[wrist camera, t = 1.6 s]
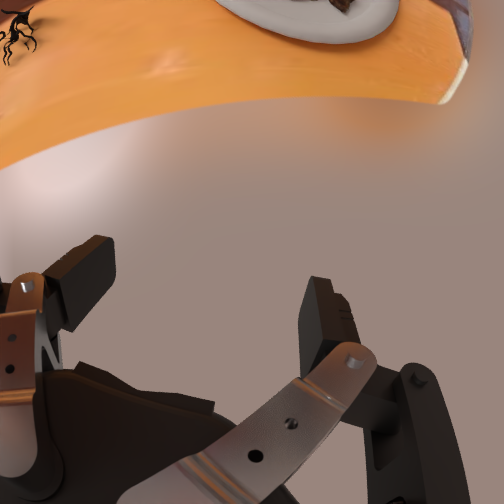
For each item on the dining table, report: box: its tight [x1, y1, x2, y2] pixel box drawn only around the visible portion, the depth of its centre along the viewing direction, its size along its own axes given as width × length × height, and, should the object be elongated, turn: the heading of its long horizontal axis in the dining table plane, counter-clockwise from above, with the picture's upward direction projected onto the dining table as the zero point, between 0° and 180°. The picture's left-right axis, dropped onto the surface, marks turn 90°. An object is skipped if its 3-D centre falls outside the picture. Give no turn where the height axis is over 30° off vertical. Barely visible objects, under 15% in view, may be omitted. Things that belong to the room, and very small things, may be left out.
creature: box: [0, 6, 37, 66], centre depth 16 cm, size 8×5×8 cm
